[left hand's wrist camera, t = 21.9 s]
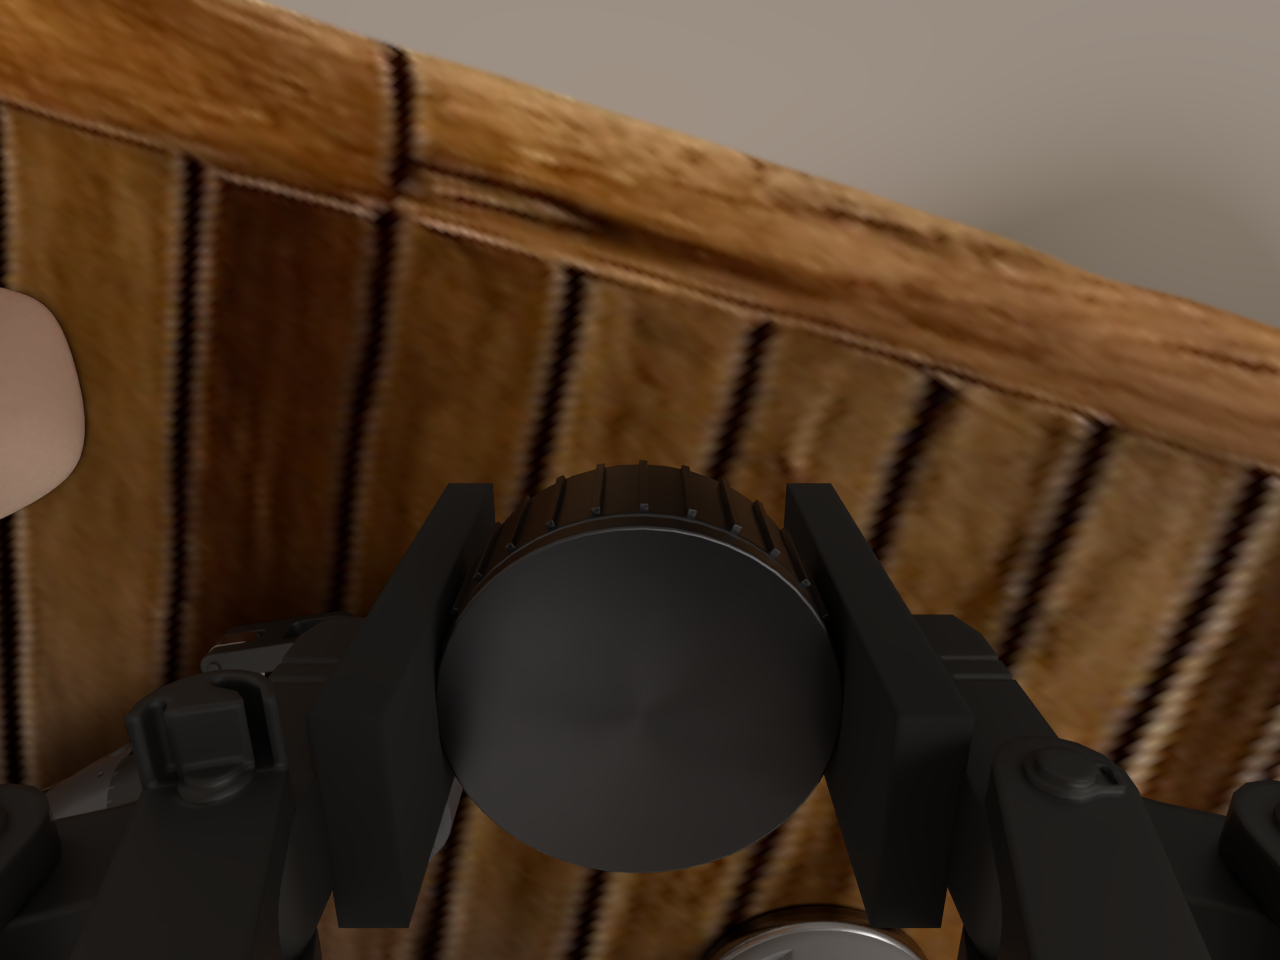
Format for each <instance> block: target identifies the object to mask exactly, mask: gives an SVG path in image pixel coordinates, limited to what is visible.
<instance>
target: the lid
mask: <svg viewBox="0 0 1280 960" xmlns="http://www.w3.org/2000/svg"><path fill="white" fill-rule="evenodd" d="M450 614H451V615H454V618H453V620H452V622H451V625H450V627H449V630H448V632H447V634H446V637H445V639H444V642H443V644H442V653H441V656H440V659H439V662H438V667H437V673H436V680H435V696H436V708H437V718H438V727H439V736H440V741H441V744H442V747H443V751H444V754H445V756H446V758H447V760H448V763H449V765H450V767H451V769H452V771H453V773H454V775H455V777H456V778H457V780H458V781H459V783H460V784H461V786H462V787H463V789H464V790H465V792H466V793H467V795H468V796H469V797H470V798H471V799H472V800H473V801H474V803H475V804H476V805H477V806H478V807H479V808H480V809H481V811H482V812H483V813H485V814H486V815H487V816H488V817H489V818H490V819H491V820H492V821H494V822H495V823H496V824H497V825H498V826H499V827H501V828H502V829H503V830H505V831H506V832H508V833H509V834H511V835H512V836H514V837H515V838H516V839H518V840H519V841H521V842H523V843H525V844H527V845H529V846H531V847H532V848H534V849H536V850H538V851H540V852H542V853H545V854H547V855H550V856H552V857H555V858H557V859H560V860H562V861H566V862H569V863H573V864H576V865H580V866H583V867H587V868H593V869H599V870H605V871H611V872H626V873H652V872H665V871H672V870H680V869H686V868H690V867H694V866H698V865H702V864H706V863H709V862H712V861H715V860H718V859H720V858H723V857H726V856H729V855H731V854H733V853H735V852H737V851H739V850H742V849H744V848H746V847H748V846H750V845H752V844H753V843H755V842H757V841H758V840H760V839H761V838H763V837H764V836H766V835H768V834H769V833H771V832H772V831H773V830H775V829H776V828H777V827H778V826H780V825H781V824H782V823H783V822H784V821H786V820H787V819H788V818H789V817H790V816H791V815H792V814H793V813H794V812H795V811H796V810H797V809H798V808H799V807H800V806H801V805H802V804H803V803H804V802H805V801H806V800H807V798H808V797H809V796H810V794H811V793H812V791H813V790H814V789H815V787H816V786H817V785H818V783H819V782H820V780H821V778H822V776H823V775H824V773H825V771H826V769H827V767H828V765H829V763H830V762H831V759H832V756H833V753H834V751H835V748H836V745H837V742H838V740H839V735H840V728H841V719H842V709H843V698H844V686H843V677H842V670H841V666H840V662H839V659H838V655H837V651H836V648H835V646H834V643H833V641H832V638H831V636H830V634H829V631H828V629H827V626H826V624H825V623H828V622H831V618H830V616H829V614H828V611H827V609H826V607H825V605H824V602H823V600H822V598H821V595H820V593H819V591H818V588H817V586H816V584H815V581H814V579H813V577H812V574H811V572H810V570H809V568H808V565H807V563H806V561H805V559H804V560H800V557H799V555H798V552H797V550H796V548H795V545H794V543H793V541H792V538H791V536H790V533H789V531H788V530H787V529H786V528H785V527H784V528H783V529H781V530H780V529H779V528H778V526H777V525H776V524H775V523H774V522H773V521H772V519H771V518H770V517H769V516H768V515H767V514H766V512H765V510H764V507H763V504H762V503H761V502H759V501H758V500H756V501H755V502H754V503H753V502H752V501H750V500H749V499H747V498H746V497H744V496H743V495H741V494H740V493H738V492H737V491H735V490H734V489H732V488H730V485H729V482H728V481H726V480H724V479H721V481H720V482H718V481H716V480H714V479H711V478H708V477H706V476H703V475H700V474H697V473H694V472H691V471H690V468H689V466H684V465H682V467H681V469H677V468H672V467H668V466H656V465H647V461H645V460H640V461H639V465H619V466H613V467H607V468H605V464H598V465H597V468H596V469H595V470H592V471H588V472H585V473H582V474H578V475H575V476H572V477H570V478H567V479H565V477H564V475H563V476H560V477H558V478H557V480H556V483H555V484H554V485H552V486H550V487H548V488H547V489H545V490H543V491H542V492H540V493H538V494H537V495H535V496H533V497H532V498H530V497H529V496H528V495H527V496H525V497H524V498H523V499H522V500H521V503H520V506H519V508H518V509H517V510H516V511H514V512H513V513H512V515H511V516H510V517H509V518H508V519H507V520H506V521H505V522H504V523H503V524H501V523H500V522H497V523H496V524H495V525H494V527H493V529H492V532H491V534H490V537H489V539H488V541H487V544H486V546H485V549H484V551H483V554H482V555H481V554H478V553H476V555H475V557H474V559H473V561H472V563H471V566H470V568H469V570H468V573H467V575H466V577H465V580H464V582H463V584H462V587H461V589H460V591H459V594H458V596H457V598H456V601H455V603H454V605H453V608H452V610H451V612H450Z"/></svg>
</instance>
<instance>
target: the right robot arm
mask: <svg viewBox="0 0 1280 960" xmlns="http://www.w3.org/2000/svg"><path fill="white" fill-rule="evenodd" d="M327 617H354V616H353V615H352V614H350V613H349V612H346V611H335V612H328V613H322V614H315V615H309V616H302V617H295V618H289V619H282V620H276V621H269V622H263V623H256V624H249V625H243V626H236V627H233V628H231V629H230V630H229V631H228V632H227V633H226V634H225V635H224V636H223V637H222V638H221V639H220V640H219V641H218V642H217V643H216V644H215V645H214V646H213V647H212V649H211V650H210V651H209V653H208V654H207V655H206V656H205V657H204V658H203V659H202V661H201V663H200V667H201V670H202V672H203V673H205V672H209V671H214V670H231V669H243V670H248V671H252V672H256V673H261V674H263V675H264V676H265V674H266V673H267V672H273V671H274V669H275V668H276V666H277V665H278V664H282V658H283V657H284V656H285V654H286V653H287V652H288V650H289V649H290V648H291V646H292V645H293V643H294V642H295V641H296V639H297V638H298V637H299V636H300V635H302V634H303V633H305V632H306V631H308V630H309V629H311V628H312V627H314V626H315V625H317V624H318V623H320V622H321V621H323V620H324V619H326V618H327ZM40 792H42V793H43V794H44V795H46V796H47V798H48V802H49V805H50V808H51V812H52V815H53V818H54V820H55V819H60V818H64V817H69V816H74V815H78V814H83V813H88V812H93V811H97V810H102V809H107V808H111V807H116V806H120V805H124V804H127V803H131V802H134V801H138V799H139V797H140V794H141V792H142V786H141V782H140V778H139V774H138V770H137V766H136V762H135V758H134V754H133V750H132V747H131V743H128V744H126V745H124V746H122V747H120V748H118V749H116V750H114V751H113V752H111V753H110V754H109V755H107V756H105V757H103V758H101V759H99V760H97V761H95V762H93V763H91V764H90V765H88V766H86V767H85V768H83V769H82V770H80V771H79V772H77V773H76V774H74V775H72V776H71V777H69V778H67V779H65V780H63V781H60V782H58V783H56V784H54V785H51V786H49V787H47V788H44V789H42V790H40Z"/></svg>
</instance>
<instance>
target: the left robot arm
mask: <svg viewBox="0 0 1280 960" xmlns="http://www.w3.org/2000/svg"><path fill="white" fill-rule="evenodd" d="M494 525H495V511H494V495H493V483H449V484H448V485H447V487H446V488H445V490H444V492H443V493H442V495H441V497H440V498H439V500H438V501H437V503H436V505H435V506H434V508H433V509H432V511H431V513H430V514H429V516H428V518H427V519H426V521H425V522H424V524H423V526H422V527H421V529H420V531H419V532H418V534H417V535H416V537H415V539H414V540H413V542H412V544H411V545H410V547H409V548H408V550H407V552H406V553H405V555H404V556H403V558H402V560H401V561H400V563H399V565H398V566H397V568H396V569H395V571H394V573H393V574H392V576H391V578H390V579H389V581H388V582H387V584H386V586H385V587H384V589H383V590H382V592H381V594H380V595H379V597H378V599H377V600H376V602H375V603H374V605H373V607H372V608H371V610H370V612H369V613H368V615H367V616H366V617H327V618H326V619H324V620H323V621H321V622H320V623H318V624H317V625H315V626H314V627H312V628H311V629H309V630H308V631H306V632H305V633H303V634H302V635H300V636H299V637H298V638H297V639H296V641H295V642H294V643H293V645H292V646H291V648H290V649H289V650H288V652H287V653H286V654H285V656H284V657H283V658H282V664H278V665H277V666H276V668H275V669H274V671H273V672H272V673H271V675H270V676H269V677H268V678H267V677H265V676H264V675H263V674H261V673H256V672H252V671H248V670H243V669H231V670H214V671H209V672H205V673H200V674H195V675H191V676H187V677H185V678H182V679H180V680H177V681H175V682H172V683H170V684H167V685H165V686H162V687H160V688H159V689H157V690H156V691H154V692H152V693H151V694H149V695H148V696H146V697H145V698H143V699H142V700H140V701H139V702H138V703H137V704H136V705H135V706H134V707H133V709H132V710H131V711H130V712H129V713H128V714H127V716H126V717H125V718H124V719H125V723H126V727H127V731H128V735H129V739H130V743H131V747H132V750H133V754H134V758H135V762H136V766H137V770H138V774H139V778H140V782H141V786H142V792H141V794H140V797H139V799H138V801H134V802H131V803H127V804H124V805H120V806H116V807H111V808H107V809H102V810H97V811H93V812H88V813H83V814H78V815H74V816H69V817H64V818H60V819H55V820H54V818H53V815H52V812H51V808H50V805H49V802H48V798H47V796H46V795H44V794H43V793H42V792H40V791H39V790H38V789H37V788H35V787H33V786H26V785H19V784H12V783H11V784H3V785H0V960H322V954H321V947H320V941H319V935H318V929H317V925H318V922H319V920H320V918H321V915H322V913H323V911H324V908H325V906H326V904H327V901H328V899H329V897H330V894H331V892H332V890H333V896H334V902H335V908H336V914H337V920H338V926H339V928H409V924H410V921H411V918H412V915H413V911H414V908H415V905H416V901H417V898H418V895H419V892H420V888H421V885H422V882H423V879H424V875H425V872H426V869H427V866H428V862H429V859H430V856H431V853H432V849H433V846H434V843H435V839H436V836H437V833H438V830H439V826H440V823H441V820H442V817H443V813H444V810H445V807H446V804H447V800H448V797H449V794H450V791H451V787H452V784H453V781H454V777H455V775H454V773H453V771H452V769H451V767H450V765H449V763H448V760H447V758H446V756H445V754H444V751H443V747H442V744H441V741H440V736H439V727H438V718H437V708H436V696H435V680H436V673H437V667H438V662H439V659H440V656H441V653H442V644H443V642H444V639H445V637H446V634H447V632H448V630H449V627H450V625H451V622H452V620H453V618H454V615H451V614H450V612H451V610H452V608H453V605H454V603H455V601H456V598H457V596H458V594H459V591H460V589H461V587H462V584H463V582H464V580H465V577H466V575H467V573H468V570H469V568H470V566H471V563H472V561H473V559H474V557H475V555H476V553H478V554H481V555H482V554H483V551H484V549H485V546H486V544H487V541H488V539H489V537H490V534H491V532H492V529H493V527H494ZM784 527H785V528H786V529H787V530H788V531H789V533H790V536H791V538H792V541H793V543H794V545H795V548H796V550H797V552H798V555H799V557H800V560H804V559H805V561H806V563H807V565H808V568H809V570H810V572H811V574H812V577H813V579H814V581H815V584H816V586H817V588H818V591H819V593H820V595H821V598H822V600H823V602H824V605H825V607H826V609H827V611H828V614H829V616H830V618H831V622H828V623H825V624H826V626H827V629H828V631H829V634H830V636H831V638H832V641H833V643H834V646H835V648H836V651H837V655H838V659H839V662H840V666H841V670H842V677H843V686H844V698H843V709H842V719H841V728H840V735H839V740H838V742H837V745H836V748H835V751H834V753H833V756H832V759H831V762H830V763H829V765H828V767H827V769H826V771H825V773H824V776H825V779H826V782H827V786H828V789H829V792H830V796H831V799H832V802H833V805H834V809H835V812H836V815H837V818H838V822H839V825H840V828H841V831H842V835H843V838H844V841H845V844H846V848H847V851H848V854H849V858H850V861H851V864H852V867H853V871H854V874H855V877H856V880H857V884H858V887H859V890H860V893H861V897H862V900H863V903H864V906H865V910H866V913H865V912H861V911H858V910H853V909H848V908H841V907H831V906H810V907H800V908H792V909H787V910H782V911H778V912H775V913H771V914H768V915H765V916H762V917H760V918H757V919H755V920H753V921H750V922H748V923H746V924H744V925H742V926H741V927H739V928H737V929H735V930H734V931H733V932H731V933H730V934H728V935H727V936H725V937H724V938H723V939H722V940H721V941H719V942H718V943H717V944H716V945H715V946H714V947H713V948H712V949H711V950H710V951H709V952H708V954H707V955H706V956H705V957H704V959H703V960H927V958H926V956H925V954H924V953H923V951H922V950H921V948H920V947H919V946H918V945H917V944H916V942H915V941H914V940H913V939H911V938H910V937H909V936H908V935H907V934H906V933H905V932H903V931H902V930H901V929H899V928H941V923H942V917H943V910H944V904H945V898H946V892H947V887H948V889H949V892H950V894H951V896H952V899H953V901H954V903H955V906H956V908H957V910H958V912H959V915H960V917H961V919H962V922H963V929H962V935H961V941H960V946H959V952H958V958H957V960H1280V781H1275V780H1263V781H1256V782H1249V783H1245V784H1244V785H1243V786H1242V787H1240V788H1239V789H1238V790H1236V791H1235V792H1234V793H1233V796H1232V799H1231V803H1230V806H1229V809H1228V813H1227V816H1223V815H1218V814H1214V813H1209V812H1204V811H1200V810H1195V809H1190V808H1186V807H1181V806H1176V805H1171V804H1167V803H1162V802H1158V801H1155V800H1151V799H1148V798H1144V797H1141V795H1140V793H1139V791H1138V788H1137V787H1136V786H1135V784H1134V783H1133V782H1132V780H1131V779H1130V777H1129V776H1128V775H1127V773H1126V772H1125V771H1124V770H1123V769H1122V768H1120V767H1119V766H1118V765H1116V764H1115V763H1114V762H1112V761H1111V760H1110V759H1108V758H1107V757H1106V756H1104V755H1103V754H1100V753H1098V752H1096V751H1094V750H1092V749H1090V748H1087V747H1085V746H1083V745H1081V744H1079V743H1076V742H1072V741H1068V740H1064V739H1060V738H1058V736H1057V735H1056V734H1055V732H1054V731H1053V730H1052V728H1051V727H1050V726H1049V724H1048V723H1047V722H1046V720H1045V719H1044V718H1043V716H1042V715H1041V714H1040V712H1039V711H1038V710H1037V708H1036V707H1035V705H1034V704H1033V703H1032V701H1031V700H1030V699H1029V697H1028V696H1027V695H1026V693H1025V692H1024V691H1023V689H1022V688H1021V687H1020V685H1019V684H1018V683H1017V681H1016V680H1012V675H1011V673H1010V672H1009V670H1008V669H1007V668H1006V666H1005V665H1004V664H1003V662H1002V661H998V656H997V654H996V653H995V652H994V650H993V649H992V648H991V646H990V645H989V644H988V642H987V641H986V639H985V638H984V637H983V635H982V634H981V633H979V632H978V631H976V630H975V629H973V628H972V627H970V626H969V625H967V624H966V623H964V622H963V621H961V620H960V619H958V618H957V617H955V616H953V615H912V614H911V612H910V611H909V609H908V608H907V606H906V604H905V603H904V601H903V600H902V598H901V596H900V595H899V593H898V591H897V590H896V588H895V587H894V585H893V583H892V582H891V580H890V578H889V577H888V575H887V574H886V572H885V570H884V569H883V567H882V565H881V564H880V562H879V561H878V559H877V557H876V556H875V554H874V553H873V551H872V549H871V548H870V546H869V544H868V543H867V541H866V540H865V538H864V536H863V535H862V533H861V531H860V530H859V528H858V527H857V525H856V523H855V522H854V520H853V518H852V517H851V515H850V514H849V512H848V510H847V509H846V507H845V506H844V504H843V502H842V501H841V499H840V497H839V496H838V494H837V493H836V491H835V489H834V488H833V486H832V484H831V483H787V487H786V502H785V518H784Z"/></svg>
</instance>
